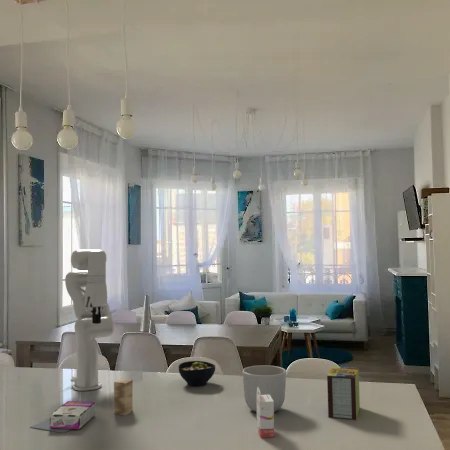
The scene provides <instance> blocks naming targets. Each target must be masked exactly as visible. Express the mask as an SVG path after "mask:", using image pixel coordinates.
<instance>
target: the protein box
mask: <svg viewBox="0 0 450 450" xmlns="http://www.w3.org/2000/svg"><path fill="white" fill-rule="evenodd" d="M359 370H360V368H359V367H354V366H353V367H352V366H351V367H349V366H338V365H337V366H335V365H333V366H331V368H330V369H329V370H328V373H327V374H326V379H327V413H328V414H327V415H328V418H330V419H331V418H332V419H342V420H343V419H345V420H354V421H355V420H356V421H357V420H358V416H359V411H360V408H361V406H360V403H361V402H360V400H361V399H360V377H359V376H360V371H359Z"/></svg>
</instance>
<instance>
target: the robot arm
mask: <svg viewBox="0 0 450 450" xmlns="http://www.w3.org/2000/svg"><path fill="white" fill-rule="evenodd" d="M106 264H107V253H106V251H104V250H102V249H76V250H74V251H72V253H71V255H70V265H71V267H72V268H73V269H77V270H72V271H69V272H68V273H66V275H65V279H64V281H65V282H64V283H65V289H66V291H67V294H68V296H69V297H70V299H71V300H72V305H73V310H74V315H75V318H76V319H77V320H76V321H75V322H74V334H75V335H74V336H75V341H76V342H75V343H76V376H71V378H70V382H72V383H74V384H73V385H72V387H73V388H72V389H73V390H75V391H80V392H82V391H83V392H85V391H86V392H88V391H92V390H93V391H94V390H98V389H100V388H101V387H102V385H103V384H102V382H101V381H99V347H98V345H97V344H96V342H95V341H93V339H98V338H109V337H111V336H112V335H113V333H114V331H115V325H114V320H113V317H112V312H111V308H110V305H109V304H108V289H107V282H106V281H107V275H106V274H107V267H106V266H107V265H106ZM84 288H85V289H84Z"/></svg>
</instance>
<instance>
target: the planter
mask: <svg viewBox="0 0 450 450" xmlns="http://www.w3.org/2000/svg"><path fill="white" fill-rule="evenodd" d="M286 378H287V370H286V368H283V367H280V366H278V365H277V366H275V365H266V364H265V365H263V364H262V365H252V366H248V367H247V366H246V367H244V368H243V369H242V383H243V395H244V401H245V404H246V405H247V407H248V408H249V409H250V410H251V411H252V412H255V413H257V387H258V388H259V390H260V392H261V395H270V396H271V398H272V399H273V401H274V413H276V412H277V411H279V410H280V409H281V408H282V407H283V405H284V403H285V398H286V381H287V379H286ZM258 394H259V392H258Z"/></svg>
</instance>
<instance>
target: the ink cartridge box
mask: <svg viewBox="0 0 450 450" xmlns="http://www.w3.org/2000/svg"><path fill="white" fill-rule="evenodd" d="M258 392H259V394H258ZM256 430H257V432H258V434H259V436H260V437H259V438H274V437H275V412H274V401H273V399H272V398H271V396H270V395H261V392H260V390H259V388H258V387H257V412H256Z"/></svg>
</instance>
